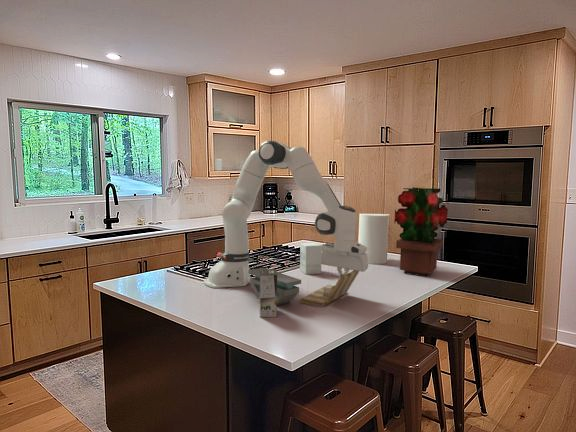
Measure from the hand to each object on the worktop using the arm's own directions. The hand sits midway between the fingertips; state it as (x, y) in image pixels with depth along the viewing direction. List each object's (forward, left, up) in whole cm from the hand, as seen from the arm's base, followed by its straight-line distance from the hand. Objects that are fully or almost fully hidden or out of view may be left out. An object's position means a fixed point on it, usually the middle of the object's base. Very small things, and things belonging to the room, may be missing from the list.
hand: (342, 278), depth 183 cm
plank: (0, -1, -3) cm, 3 cm away
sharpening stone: (-26, +13, -10) cm, 30 cm away
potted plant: (+66, +23, -10) cm, 71 cm away
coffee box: (-35, 0, -10) cm, 36 cm away
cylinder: (+61, +55, -10) cm, 83 cm away
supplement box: (+13, +47, -10) cm, 49 cm away
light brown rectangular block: (-4, +7, -10) cm, 13 cm away
